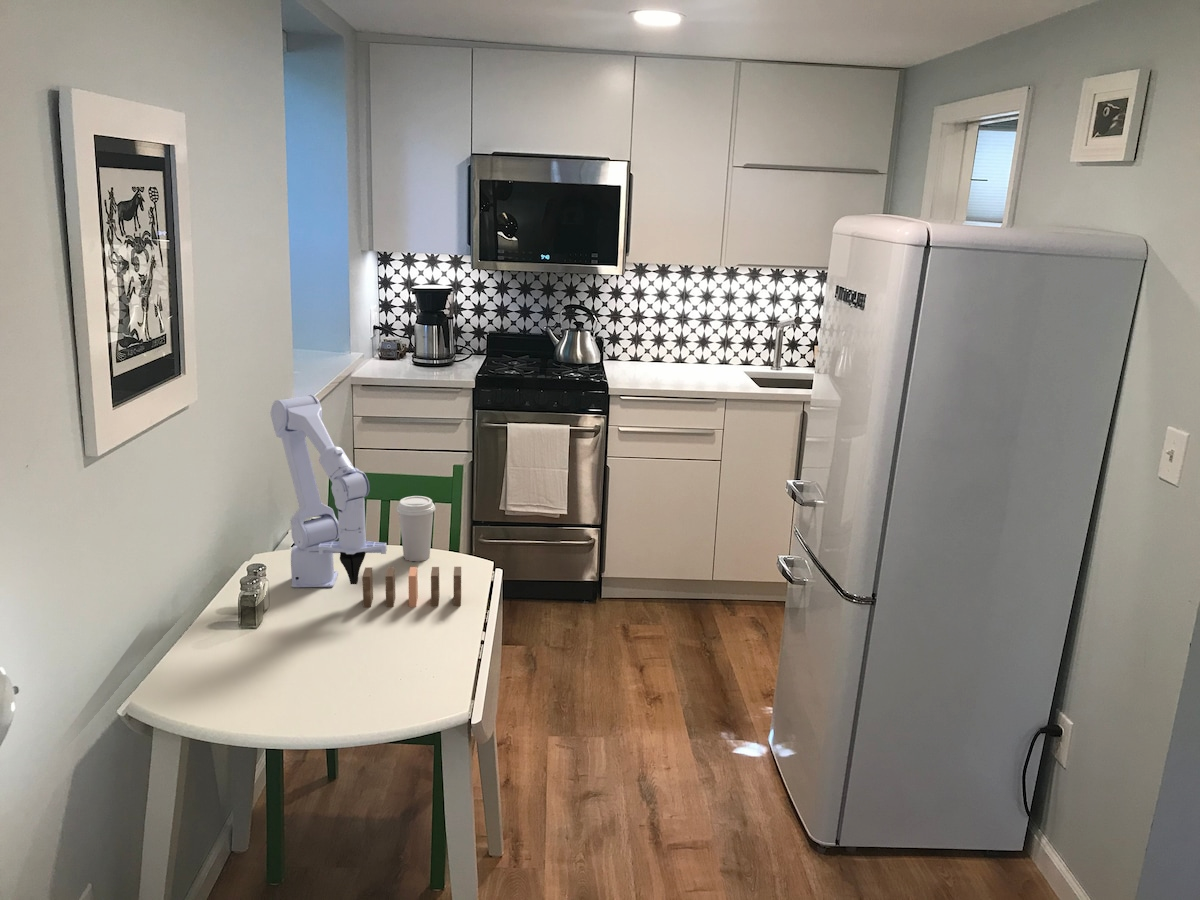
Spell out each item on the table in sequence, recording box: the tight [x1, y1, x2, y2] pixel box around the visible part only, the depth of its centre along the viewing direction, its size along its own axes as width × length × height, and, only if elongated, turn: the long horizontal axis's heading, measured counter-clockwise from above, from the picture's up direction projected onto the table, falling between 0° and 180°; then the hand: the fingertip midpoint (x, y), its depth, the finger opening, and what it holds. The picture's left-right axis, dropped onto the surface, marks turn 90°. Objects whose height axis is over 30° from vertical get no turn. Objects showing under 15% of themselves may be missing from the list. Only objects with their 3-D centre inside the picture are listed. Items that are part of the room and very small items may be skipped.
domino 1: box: [361, 566, 374, 608], centre depth 211 cm, size 2×5×8 cm, turn 7°
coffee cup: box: [396, 495, 436, 562], centre depth 236 cm, size 10×10×15 cm
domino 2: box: [384, 566, 396, 608], centre depth 212 cm, size 2×5×8 cm, turn 7°
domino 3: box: [407, 566, 419, 608], centre depth 212 cm, size 2×5×8 cm, turn 6°
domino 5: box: [453, 566, 462, 607], centre depth 214 cm, size 2×5×8 cm, turn 7°
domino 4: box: [430, 566, 440, 607], centre depth 213 cm, size 2×5×8 cm, turn 7°
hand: (354, 582), depth 210 cm, fingers closed
